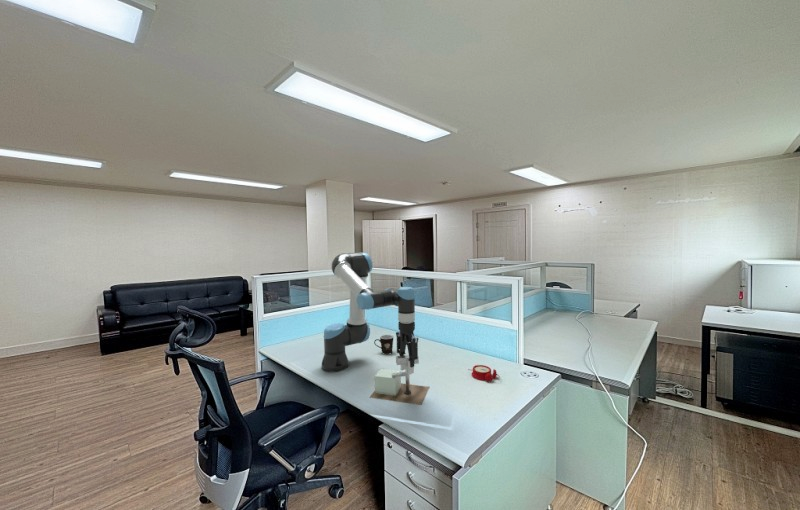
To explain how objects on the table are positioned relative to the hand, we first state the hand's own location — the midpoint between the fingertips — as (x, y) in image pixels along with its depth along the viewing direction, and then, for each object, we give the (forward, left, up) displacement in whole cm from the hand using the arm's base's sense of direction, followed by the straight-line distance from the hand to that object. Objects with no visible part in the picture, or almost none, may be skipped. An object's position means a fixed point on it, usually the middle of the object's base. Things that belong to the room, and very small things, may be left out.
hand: (407, 371), depth 139 cm
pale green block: (-9, 0, -10) cm, 14 cm away
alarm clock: (+34, +28, -12) cm, 45 cm away
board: (-3, 0, -11) cm, 12 cm away
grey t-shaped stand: (-1, 0, -9) cm, 9 cm away
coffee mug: (-28, +48, -11) cm, 57 cm away
